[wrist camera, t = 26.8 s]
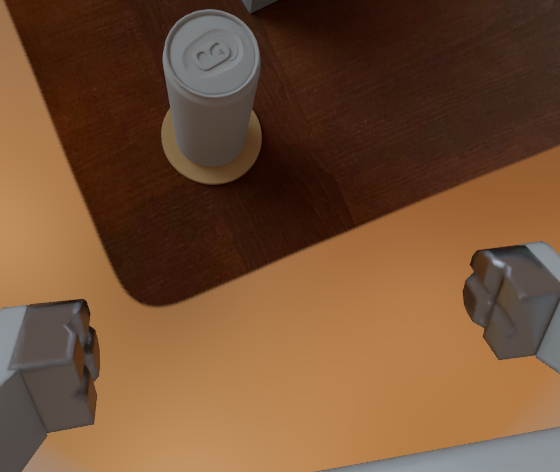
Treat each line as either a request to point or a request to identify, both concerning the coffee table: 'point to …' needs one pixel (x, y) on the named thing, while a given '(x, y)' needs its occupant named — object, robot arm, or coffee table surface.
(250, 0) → the icon cube
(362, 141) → the coffee table surface
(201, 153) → the beverage can
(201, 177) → the coaster
